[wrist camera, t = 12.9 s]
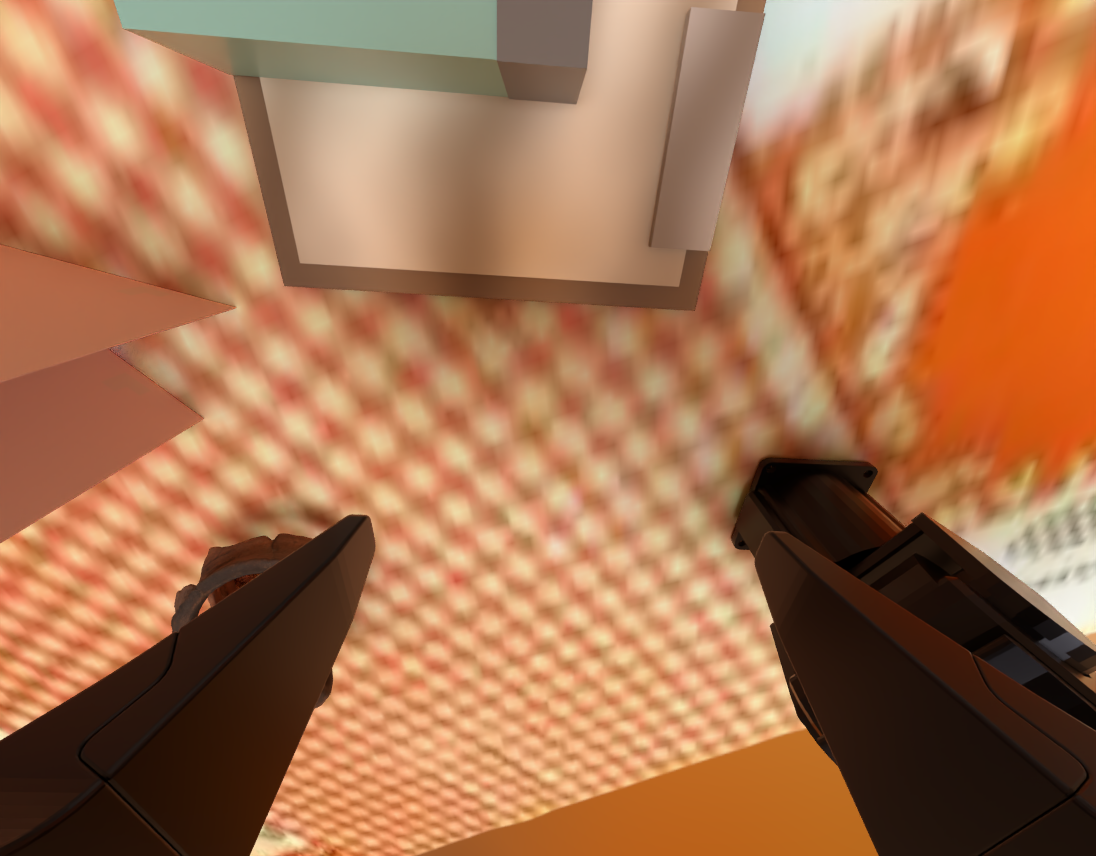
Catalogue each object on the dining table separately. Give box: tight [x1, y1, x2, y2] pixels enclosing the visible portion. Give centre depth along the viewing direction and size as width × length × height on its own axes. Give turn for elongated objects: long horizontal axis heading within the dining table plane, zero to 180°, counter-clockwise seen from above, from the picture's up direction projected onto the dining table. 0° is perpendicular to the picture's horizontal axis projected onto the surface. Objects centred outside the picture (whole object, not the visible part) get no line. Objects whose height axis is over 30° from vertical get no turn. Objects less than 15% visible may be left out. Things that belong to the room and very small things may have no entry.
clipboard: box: [234, 0, 766, 311], centre depth 15 cm, size 18×12×1 cm, turn 87°
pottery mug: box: [171, 534, 333, 709], centre depth 25 cm, size 12×10×8 cm
